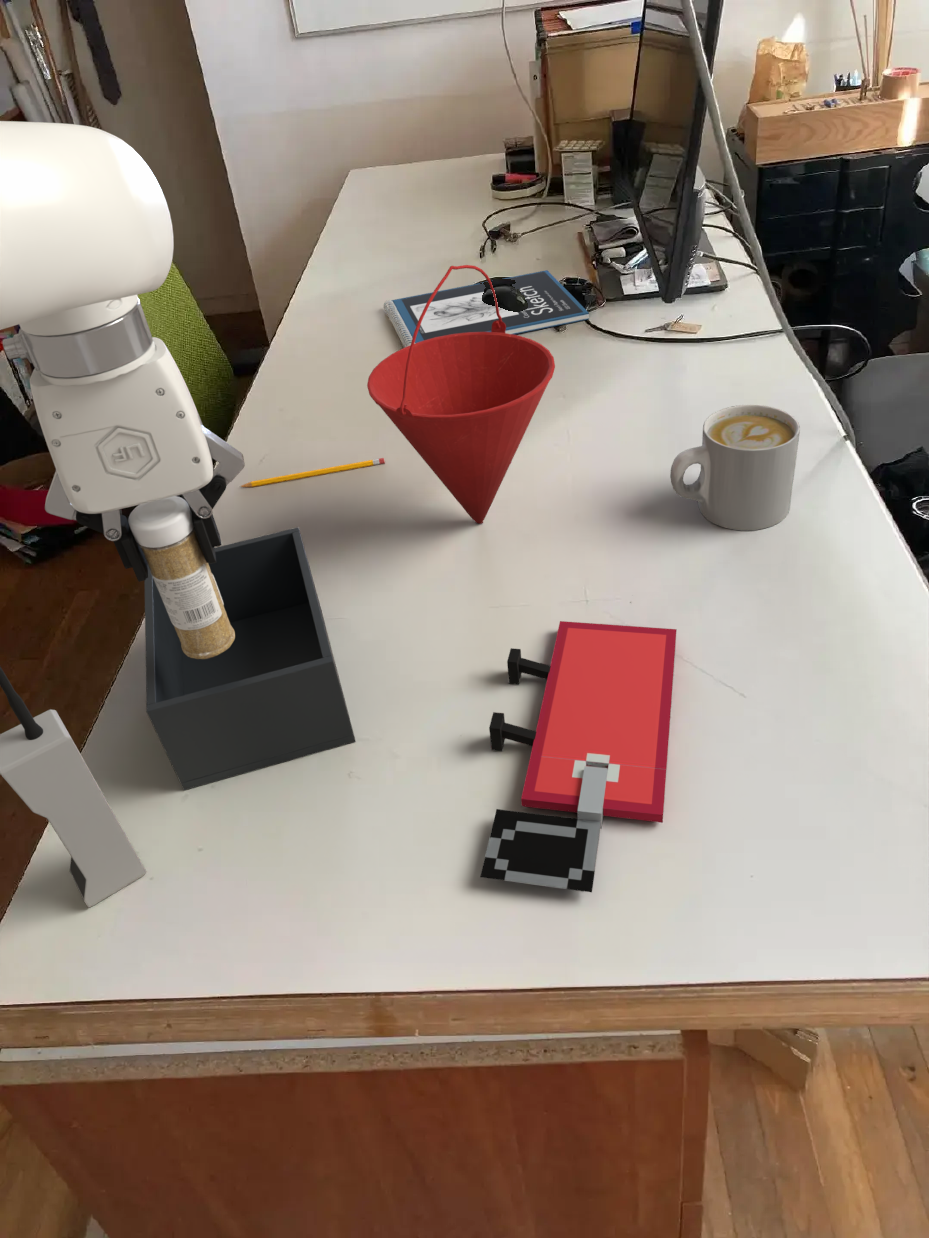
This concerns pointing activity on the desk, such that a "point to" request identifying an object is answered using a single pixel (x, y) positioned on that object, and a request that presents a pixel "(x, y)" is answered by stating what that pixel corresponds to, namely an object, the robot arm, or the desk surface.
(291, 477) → the pencil
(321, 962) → the desk surface
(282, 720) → the wastebin
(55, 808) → the vintage mobile phone
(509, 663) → the red board with handle
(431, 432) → the fire bucket
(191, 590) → the sprinkles bottle
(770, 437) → the coffee mug
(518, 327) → the sketchbook
